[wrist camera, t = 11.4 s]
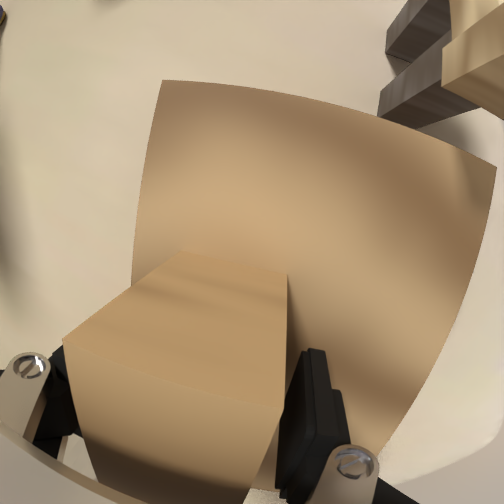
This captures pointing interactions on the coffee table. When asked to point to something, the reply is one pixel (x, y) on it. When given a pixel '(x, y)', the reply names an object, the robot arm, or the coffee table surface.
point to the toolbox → (420, 67)
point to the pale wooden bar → (476, 53)
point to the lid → (271, 286)
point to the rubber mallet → (1, 14)
